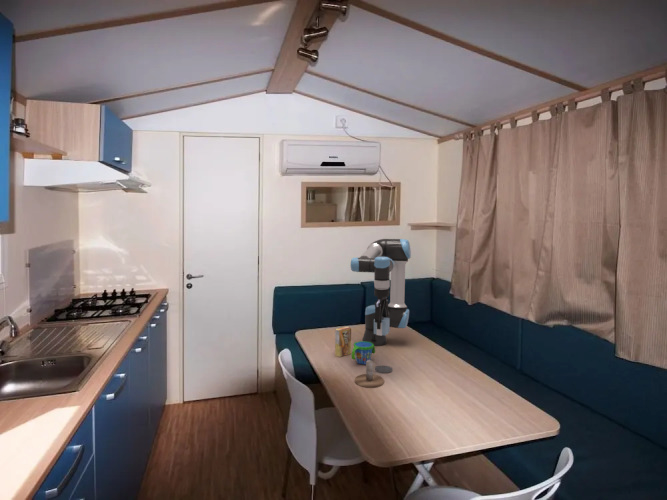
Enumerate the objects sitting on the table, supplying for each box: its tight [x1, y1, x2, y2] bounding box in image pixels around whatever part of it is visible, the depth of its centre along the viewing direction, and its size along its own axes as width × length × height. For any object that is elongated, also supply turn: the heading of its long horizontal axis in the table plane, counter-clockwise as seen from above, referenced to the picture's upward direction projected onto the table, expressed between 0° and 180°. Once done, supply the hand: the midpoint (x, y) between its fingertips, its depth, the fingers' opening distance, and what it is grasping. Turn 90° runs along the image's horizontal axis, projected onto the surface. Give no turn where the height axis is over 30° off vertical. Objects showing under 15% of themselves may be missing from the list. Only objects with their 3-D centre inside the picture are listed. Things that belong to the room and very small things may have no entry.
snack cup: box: [351, 340, 376, 365], centre depth 214 cm, size 16×10×10 cm
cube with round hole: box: [374, 317, 391, 336], centre depth 200 cm, size 6×6×8 cm
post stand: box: [354, 359, 385, 389], centre depth 190 cm, size 14×14×10 cm
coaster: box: [374, 364, 393, 374], centre depth 204 cm, size 9×9×1 cm
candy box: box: [334, 326, 352, 358], centre depth 226 cm, size 9×4×15 cm, turn 129°
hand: (381, 333), depth 201 cm, fingers closed on cube with round hole, 6 cm apart
